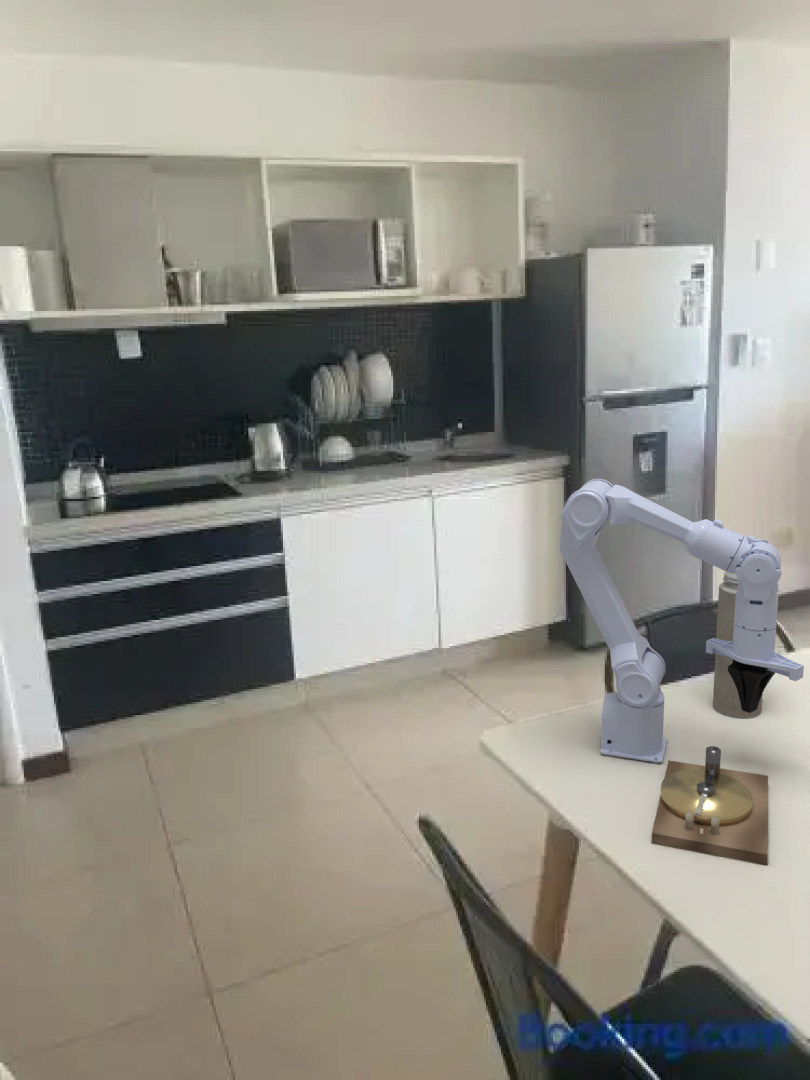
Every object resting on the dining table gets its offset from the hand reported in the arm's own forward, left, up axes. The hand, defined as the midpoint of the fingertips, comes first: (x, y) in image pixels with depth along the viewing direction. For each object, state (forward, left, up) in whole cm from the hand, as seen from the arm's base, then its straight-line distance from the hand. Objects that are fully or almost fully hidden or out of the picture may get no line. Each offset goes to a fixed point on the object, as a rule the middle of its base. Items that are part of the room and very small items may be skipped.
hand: (749, 709), depth 126 cm
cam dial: (-5, -15, -8) cm, 18 cm away
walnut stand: (-4, -15, -9) cm, 18 cm away
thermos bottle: (-2, +20, -10) cm, 23 cm away
